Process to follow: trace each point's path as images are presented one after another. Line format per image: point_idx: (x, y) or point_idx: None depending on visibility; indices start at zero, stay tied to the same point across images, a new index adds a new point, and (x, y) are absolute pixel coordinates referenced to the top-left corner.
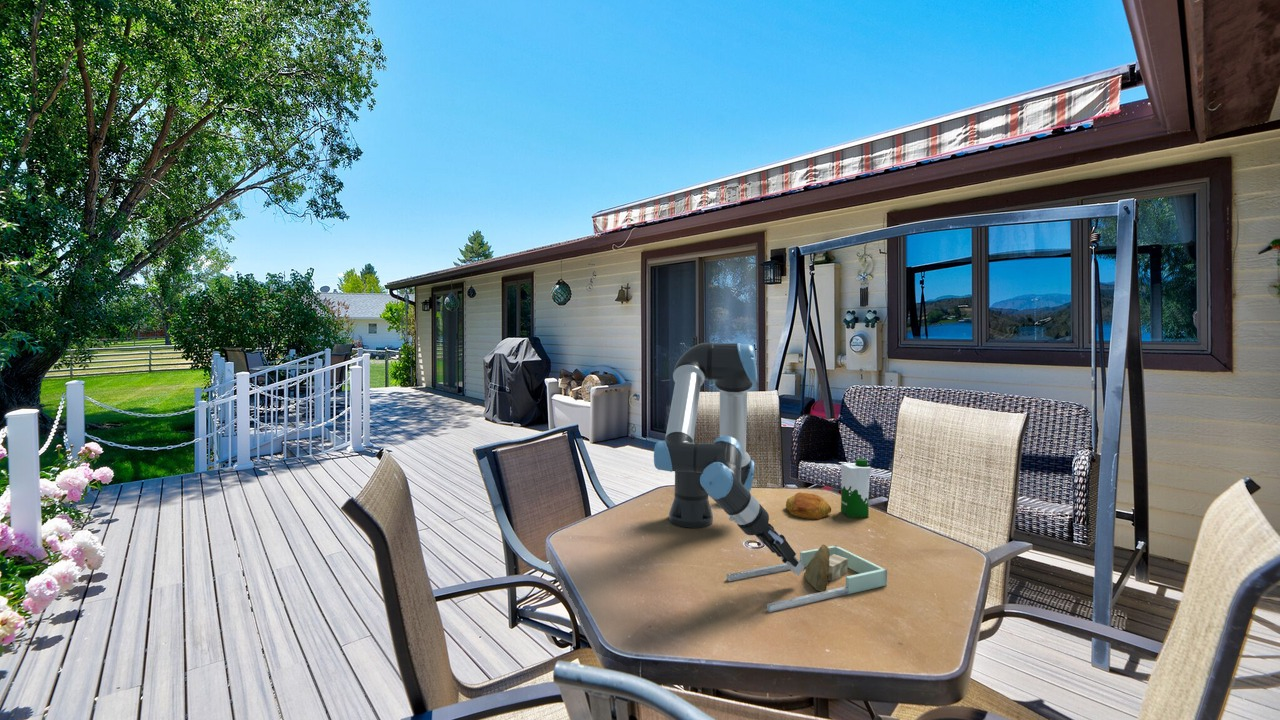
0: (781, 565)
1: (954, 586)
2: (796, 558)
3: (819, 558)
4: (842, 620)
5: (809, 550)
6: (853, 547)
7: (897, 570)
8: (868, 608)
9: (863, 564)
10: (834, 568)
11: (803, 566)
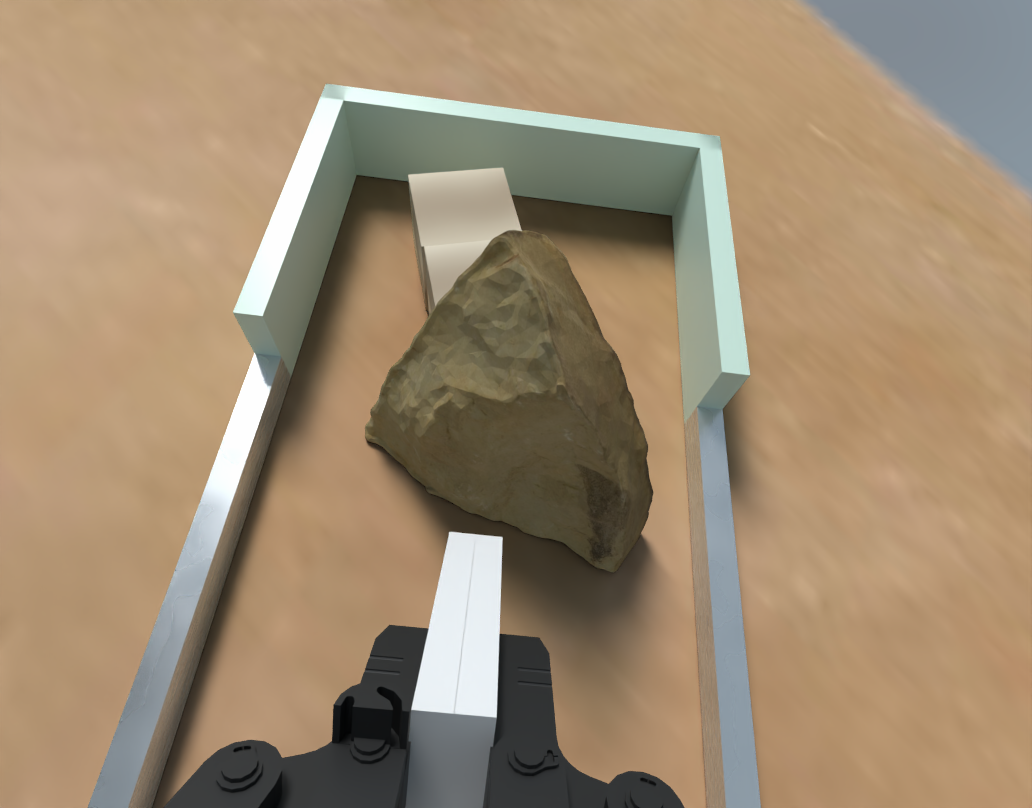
0: (212, 532)
1: (782, 46)
2: (499, 624)
3: (582, 401)
4: (1008, 756)
5: (266, 245)
6: (306, 19)
7: (588, 71)
8: (885, 470)
9: (568, 151)
10: None
11: (501, 548)
